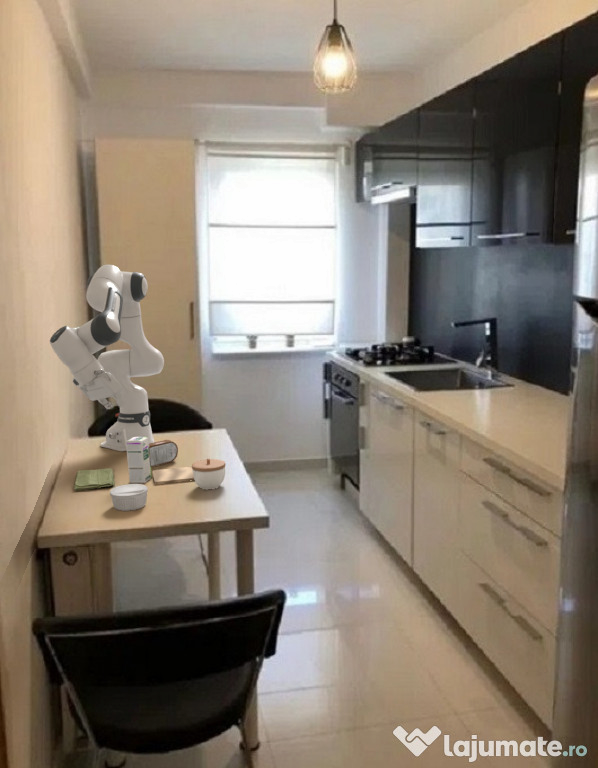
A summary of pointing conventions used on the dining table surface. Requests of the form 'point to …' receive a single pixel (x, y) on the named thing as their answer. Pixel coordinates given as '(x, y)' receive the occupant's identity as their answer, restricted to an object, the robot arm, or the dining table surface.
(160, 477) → the cork pad
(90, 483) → the washcloth
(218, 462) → the lidded jar
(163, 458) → the tin
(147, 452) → the syrup box
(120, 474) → the dining table surface
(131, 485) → the ramekin
